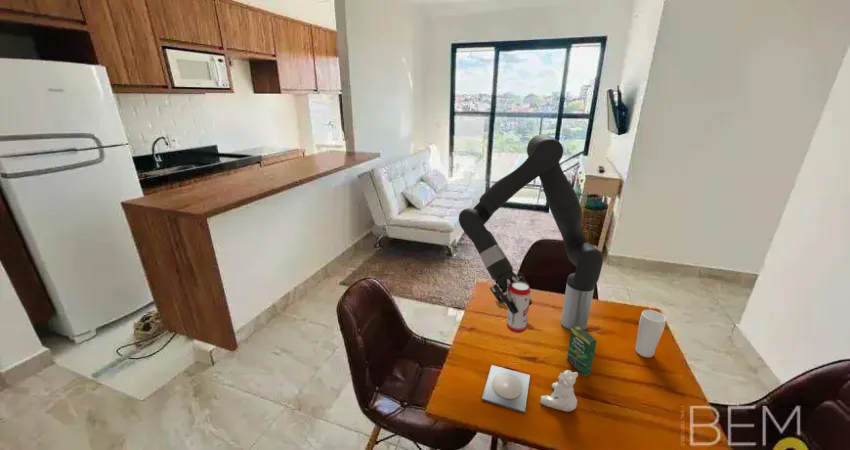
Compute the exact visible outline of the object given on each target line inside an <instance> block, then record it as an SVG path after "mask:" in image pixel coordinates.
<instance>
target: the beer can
mask: <svg viewBox="0 0 850 450" xmlns="http://www.w3.org/2000/svg"><path fill="white" fill-rule="evenodd" d="M527 283H528V282H527ZM527 283H525V282H521V281H517V282H514V283H512V286H511V288H510V292H511V294H510V295H511V299H512V301H513V302H514V304H515V306H516V307H517V309H518V313H516V314H512V313H511V312H510V310H509V308H508V307H507V313H506V314H507V316H506V328H507V329H508V330H509V331H510V332H512V333H515V334H522V333H524V332H525V331H526V330H527V328H528V320H529V318H528V316H529V309H530V305H529V301H530V299H531V289H530V285H529V283H528V284H527Z"/></svg>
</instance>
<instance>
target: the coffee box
mask: <svg viewBox="0 0 850 450" xmlns="http://www.w3.org/2000/svg"><path fill="white" fill-rule="evenodd" d="M596 346H597V339H596V338H595V337H593V336H592V335H591V334H589V333H588V332H587V331H586V330H583V329H581V328H580V327H579V326H575V327H572V329H571V330H570V338H569V344H568V352H567V357H566V359H567V360H566V361H568V363H569V364H571V365H572V366H573V367H574V368H575V369H576V370H577V372H579V373H580V374H581V375H582V376H583V377H586V376H589V375H590V374H591V372H592V368H593V367H592V366H593V361H594V356H595V350H596Z"/></svg>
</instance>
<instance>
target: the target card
mask: <svg viewBox="0 0 850 450" xmlns="http://www.w3.org/2000/svg"><path fill="white" fill-rule="evenodd" d="M489 369H490V370H489V373H488V376H487V380H486V382H485V383H486V384H485V387H484V389H483V394H482V398H481V401H484V402H486V403H491V404H493V405H496V406H500V407H502V408H506V409H510V410H513V411H516V412H519V413H523V414H526V409H527V408H526V407H527V400H528V393H529V387H530V378H531V375H530V374H528V373H527V374H526V373H524V372H520V371H516V370H512V369H510V368H509V369H507V368H505V367H500V366H497V365H493V364H491V367H490V368H489Z"/></svg>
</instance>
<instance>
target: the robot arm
mask: <svg viewBox="0 0 850 450" xmlns="http://www.w3.org/2000/svg"><path fill="white" fill-rule="evenodd" d="M526 152H527V153H526V154H527V158H526V159H525V161H524V162H523V163H521V164H520V165H519V166H518V167H517V168H516V169H514V171H512V172H510V173H509V174H507V175H505V176H504V177H502V178H500V179H499V180H497V181H496V182H494V183H493V184H491V186H490V187H489V188H488V189H487V190H486V191H485V192H484V193H482V195H481V196H480V198H479V199H478V200H479V202H478V203H477V204H476V205H475V206H474V207H473V208H470V207H469V208H467V207H466V208H464V209H463V210H461V211H460V212H459V214H458V224H459V226H460V227H461V229H462V231H463V232H464V233H465V234H466V236H467V237H468V239H469V240H471V242H472V243H473V245H474V248H475V249H476V250H477V253H478V254H479V256H480V259H481V261H482V264H483V265H484V267H485V268H486V271H487V272H488V274H489V275H490V278H491V279H492V280H494V283H495V284H494V285H492V286H490V287H489V289H490V291H491V293H492V295H494V297H495V298H496V300H497V302H498V303H499V304H500V305H501V304H505V305H506V306H507V309H508V308H509V310H510V312H511V313H512V314H516V313H518V309H517V307H516V306H515V304H514V302H513V301H512V299H511V295H510V294H511V292H510V288H511V286H512V283H514V282H517V281H521V282H525V283H527V284H528V285H529V283H528V282H527V280H526V277H525V276H524V273H523V272H522V271H520V272H518V273H515V272H514V271H513V270H514V267H513V265H512V264H511V262H510V261H509V259H508V257H507V255H506V253H505V251H504V250H503V249H502V247H501V246H500V245H499V243H498V242H497V239H496V238H495V237H494V235H493V233H492V232H490V231H489V230H488V229H487V227H486V226H485V224H486V223H488V221H489V220H490V219H491V217H492V216H493V214H494V213H496V212H497V210H499V209H500V208H501V207H503V205H504V204H506V203H507V202H508V201H509V200H510V199H512V197H514V195H516V194H517V193H518V192H519V191H520V190H522V189H523V188H525V186H527V185H528V184H530V183H532V181H534V180H535V179H537V178H538V177H539V180H540V182H541V183H540V184H541V185H542V189H543V192H544V196H545V198H546V201H547V204H548V207H549V211H550V212H551V215H552V217H553V219H554V222H555V224H556V226H557V228H558V231H559V233H560V234H561V237H562V242H563V246H564V248H565V252H566V255H567V258H568V261H569V262H570V263H571V264H573V265H574V266H575V270H574V271H575V272H573V273H570V274H569V275H568V276H567V280H566V287H565V293H564V298H563V305H562V312H561V318H560V323H561V325H562V326H563V328H565V329H567V330H569V331H571V329H572V327H575V326H579V327H580V328H581V329H583V330H584V331H586V330H587V327H588V323H589V317H590V313H591V312H590V311H591V306H592V303H593V298H594V297H593V296H594V293H595V292H594V291H595V287H596V284H597V283H598V282H599V279H600V276H601V272H602V267H603V263H604V256H603V253H602V252H601V251H600V250H599V249H597V248H596V247H595V246H594V245H592V244H591V243H590V242H589V241H588V240H587V238H586V236H585V233H584V231H583V228H582V219H583V209H582V205H581V204H580V200H579V197H578V196H577V193H576V191H575V189H574V188H573V186H572V184H571V182H570V181H569V180H568V178H567V177H566V175H565V173H564V171H563V170H562V167H561V164H560V161H561V160H562V158H563V155H564V147H563V144H562V143H561V142H560V141H558V139H556V138H554V137H552V136H550V135H547V134H537V135H535V136H532V138H530V140H529V142H528V144H527V146H526ZM532 304H533V302H532V299H531V298H530V301H529V306H531V305H532Z"/></svg>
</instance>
